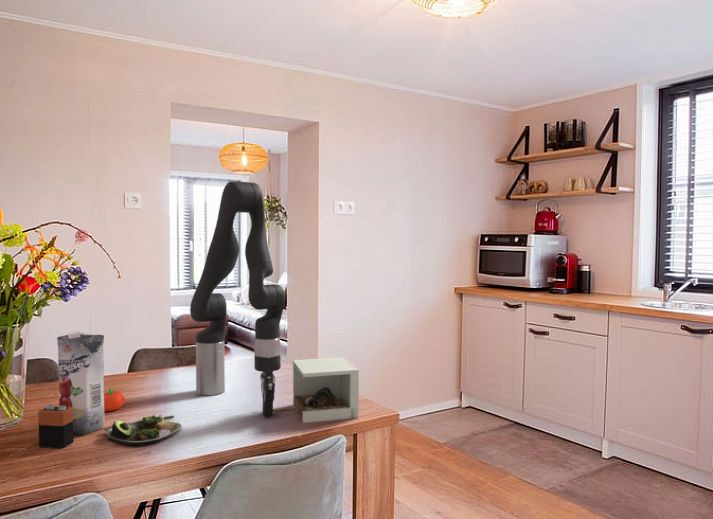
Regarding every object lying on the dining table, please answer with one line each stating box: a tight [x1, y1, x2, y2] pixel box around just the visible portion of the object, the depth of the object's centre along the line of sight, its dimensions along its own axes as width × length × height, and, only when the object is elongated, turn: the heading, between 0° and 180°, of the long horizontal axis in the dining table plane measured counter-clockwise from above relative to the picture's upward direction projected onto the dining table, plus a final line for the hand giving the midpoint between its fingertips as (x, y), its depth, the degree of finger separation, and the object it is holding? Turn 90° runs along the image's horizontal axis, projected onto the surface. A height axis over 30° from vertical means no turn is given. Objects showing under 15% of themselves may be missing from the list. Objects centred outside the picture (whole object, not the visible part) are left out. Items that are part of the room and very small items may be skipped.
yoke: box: [262, 393, 344, 420], centre depth 161 cm, size 22×14×7 cm, turn 106°
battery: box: [37, 403, 74, 449], centre depth 136 cm, size 4×7×10 cm, turn 82°
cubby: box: [292, 356, 360, 424], centre depth 163 cm, size 16×17×14 cm
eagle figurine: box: [305, 387, 331, 408], centre depth 164 cm, size 8×7×9 cm
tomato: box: [104, 388, 126, 412], centre depth 164 cm, size 7×8×6 cm
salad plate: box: [102, 414, 183, 448], centre depth 145 cm, size 19×18×5 cm
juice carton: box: [56, 330, 105, 437], centre depth 146 cm, size 9×10×27 cm
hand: (267, 411), depth 158 cm, fingers closed on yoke, 3 cm apart
